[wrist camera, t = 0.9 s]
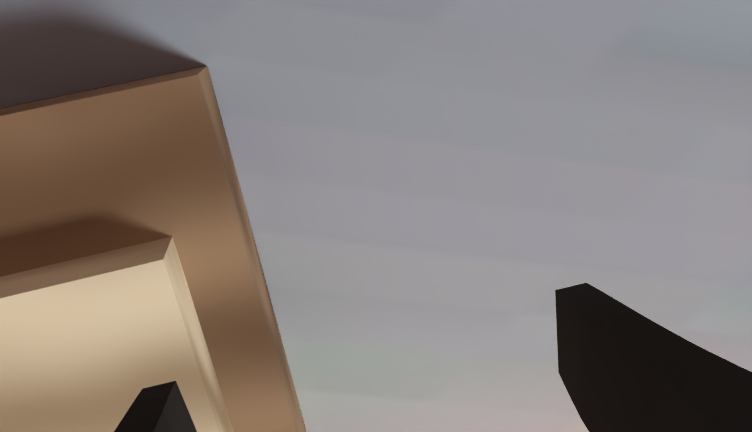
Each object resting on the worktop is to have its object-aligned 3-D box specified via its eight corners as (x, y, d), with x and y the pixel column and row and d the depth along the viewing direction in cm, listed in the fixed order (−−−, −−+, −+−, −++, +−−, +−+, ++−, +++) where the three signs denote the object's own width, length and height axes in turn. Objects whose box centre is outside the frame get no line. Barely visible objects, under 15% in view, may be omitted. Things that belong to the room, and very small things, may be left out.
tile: (246, 472, 22) (246, 514, 20) (72, 521, 22) (54, 569, 20) (172, 236, 19) (163, 259, 18) (-32, 284, 19) (-64, 313, 17)
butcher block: (319, 481, 28) (329, 554, 24) (-13, 576, 26) (-59, 669, 22) (207, 66, 22) (196, 74, 18) (-228, 156, 20) (-337, 186, 17)
